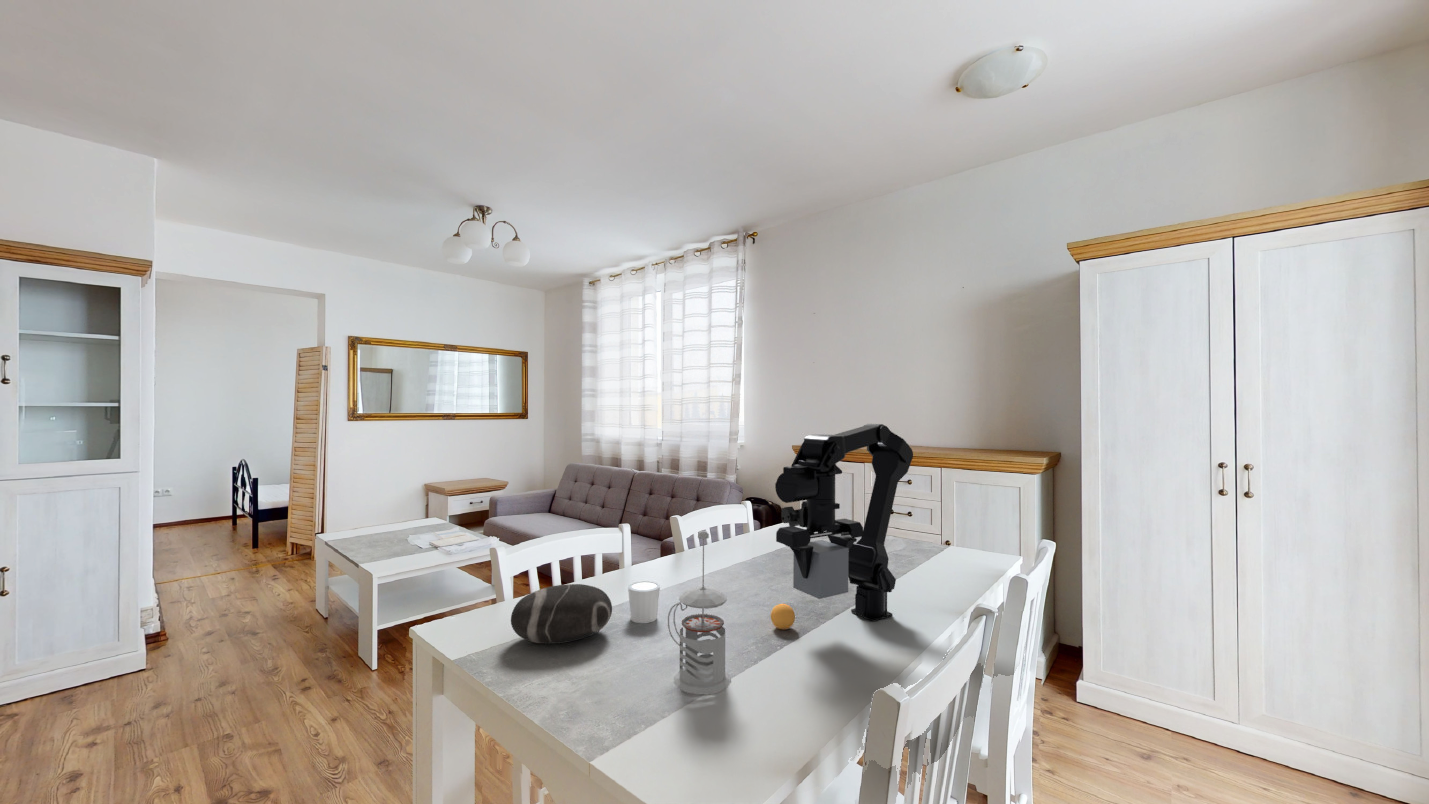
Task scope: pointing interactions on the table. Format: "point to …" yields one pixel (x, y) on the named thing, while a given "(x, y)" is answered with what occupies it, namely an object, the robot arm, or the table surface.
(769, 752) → the table surface
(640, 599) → the white tapered cup
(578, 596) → the decorative stone
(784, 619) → the ball
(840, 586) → the grey matte cube
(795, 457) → the robot arm
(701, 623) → the french press
